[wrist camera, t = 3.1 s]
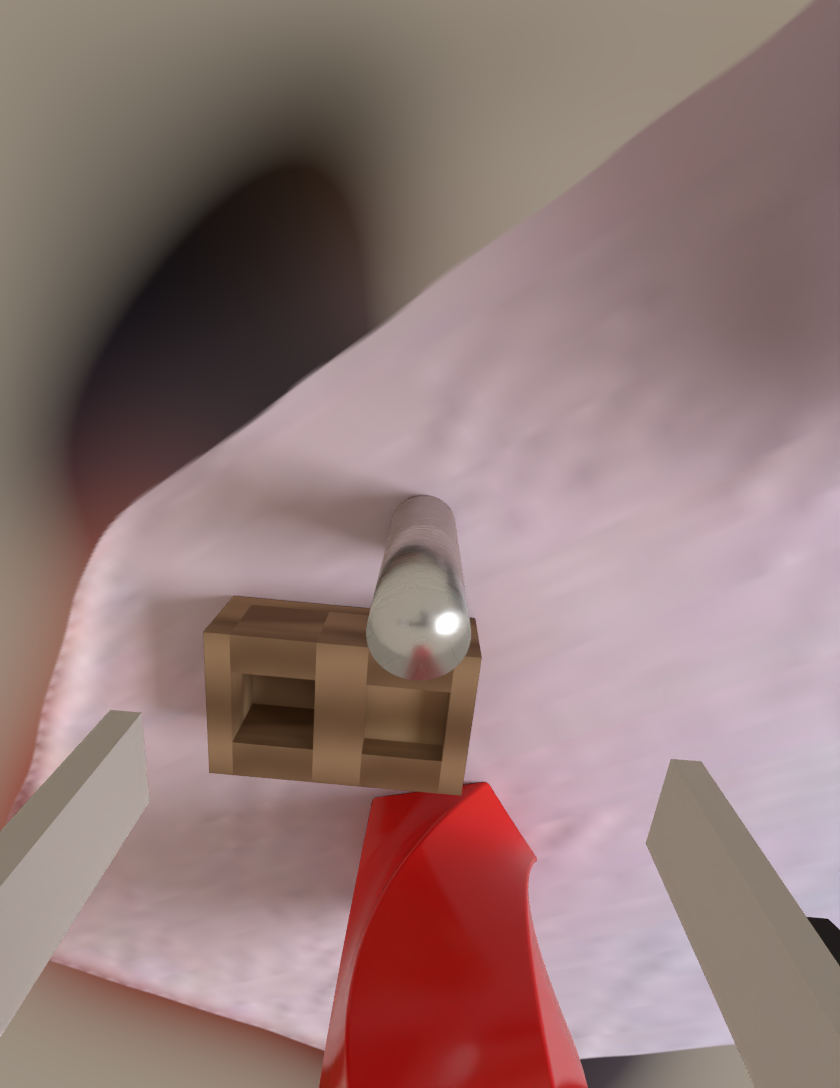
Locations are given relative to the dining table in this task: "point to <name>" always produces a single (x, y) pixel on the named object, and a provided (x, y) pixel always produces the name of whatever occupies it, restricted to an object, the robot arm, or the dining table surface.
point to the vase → (445, 956)
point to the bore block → (329, 702)
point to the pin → (420, 594)
